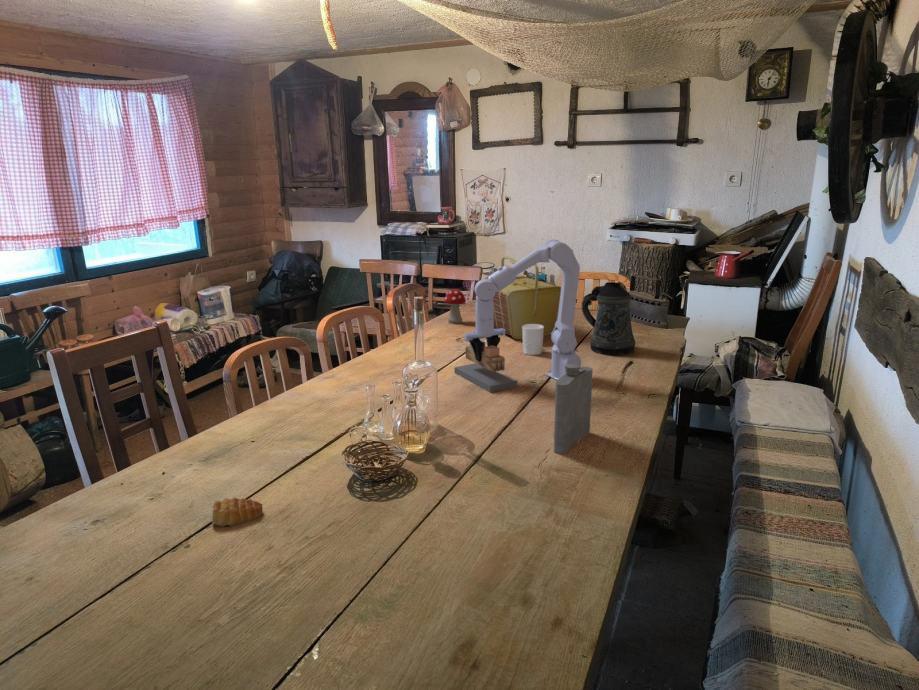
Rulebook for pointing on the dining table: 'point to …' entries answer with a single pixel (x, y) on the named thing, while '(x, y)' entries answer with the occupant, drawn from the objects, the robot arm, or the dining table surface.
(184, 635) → the dining table surface
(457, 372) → the dock
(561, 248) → the robot arm
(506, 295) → the picnic basket
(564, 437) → the hip flask
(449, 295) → the decorative mushroom
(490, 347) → the pink square block
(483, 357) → the brown notched bar
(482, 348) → the blue-grey square block
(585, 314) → the beer stein
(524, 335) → the white cup
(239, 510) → the pastry
